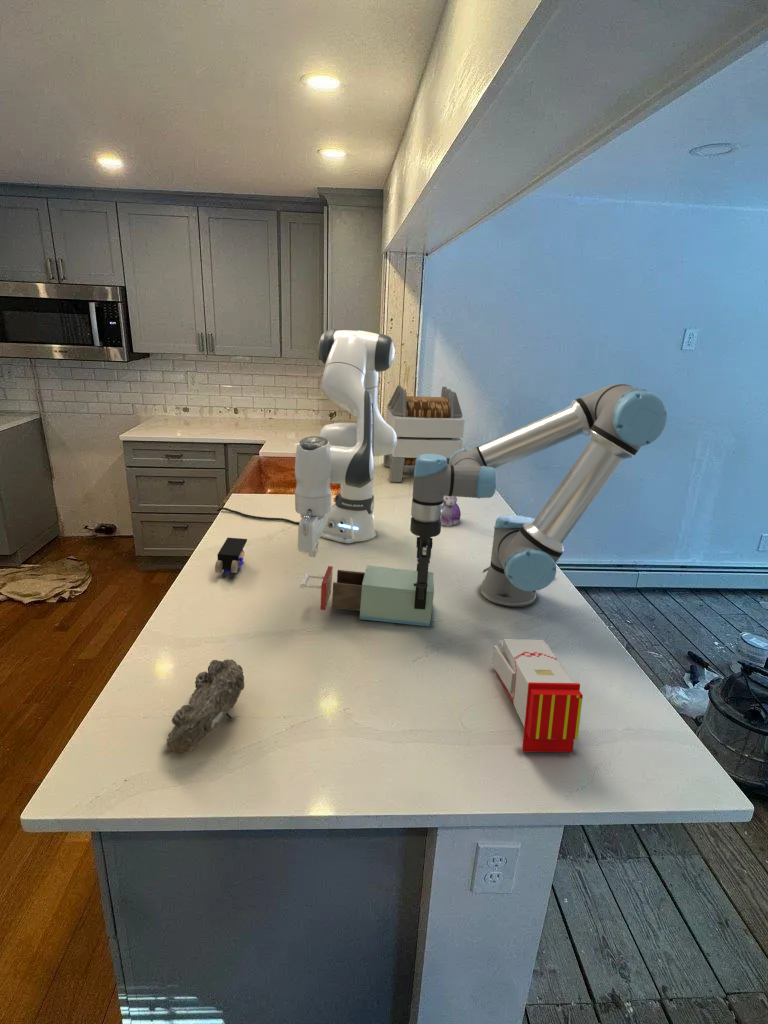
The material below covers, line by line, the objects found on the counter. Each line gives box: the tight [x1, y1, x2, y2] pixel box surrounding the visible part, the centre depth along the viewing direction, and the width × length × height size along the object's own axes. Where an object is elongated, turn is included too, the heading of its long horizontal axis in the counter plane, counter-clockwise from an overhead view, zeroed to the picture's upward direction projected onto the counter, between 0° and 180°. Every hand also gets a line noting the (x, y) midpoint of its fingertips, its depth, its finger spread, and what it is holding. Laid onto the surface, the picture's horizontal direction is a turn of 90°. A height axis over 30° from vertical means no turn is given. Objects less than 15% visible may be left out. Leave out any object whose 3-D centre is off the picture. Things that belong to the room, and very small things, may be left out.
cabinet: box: [359, 565, 435, 628], centre depth 146 cm, size 18×11×10 cm, turn 86°
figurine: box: [440, 496, 462, 527], centre depth 210 cm, size 9×10×15 cm
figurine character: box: [214, 537, 248, 578], centre depth 166 cm, size 7×8×15 cm
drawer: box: [299, 565, 365, 612], centre depth 147 cm, size 22×10×8 cm, turn 86°
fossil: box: [166, 658, 245, 754], centre depth 106 cm, size 22×10×15 cm
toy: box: [491, 638, 584, 753], centre depth 114 cm, size 12×13×30 cm
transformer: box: [383, 384, 465, 483], centre depth 268 cm, size 34×33×41 cm
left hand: (313, 555), depth 144 cm, fingers closed
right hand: (420, 597), depth 146 cm, fingers closed on cabinet, 11 cm apart
